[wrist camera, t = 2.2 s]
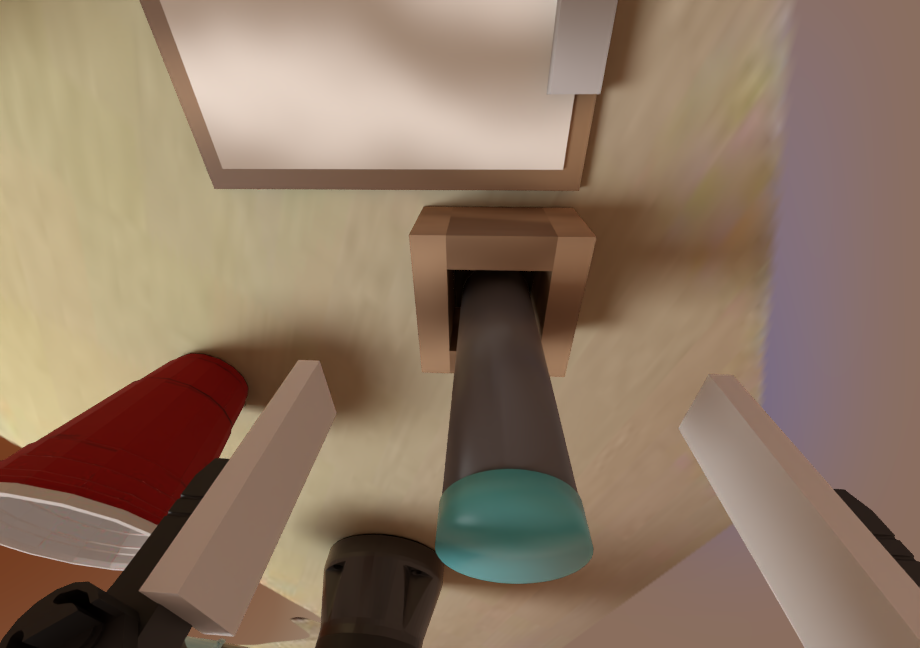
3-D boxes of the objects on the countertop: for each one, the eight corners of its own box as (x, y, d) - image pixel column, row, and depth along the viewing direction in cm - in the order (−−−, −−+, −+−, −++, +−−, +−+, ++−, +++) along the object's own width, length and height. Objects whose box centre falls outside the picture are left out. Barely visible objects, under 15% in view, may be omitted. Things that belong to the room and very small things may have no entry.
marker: (521, 301, 21) (576, 587, 9) (463, 300, 21) (438, 579, 9) (527, 245, 19) (611, 518, 7) (463, 244, 19) (430, 508, 7)
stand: (550, 330, 22) (564, 376, 19) (431, 327, 23) (422, 372, 19) (572, 207, 18) (596, 237, 14) (423, 206, 18) (408, 235, 15)
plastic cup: (195, 429, 31) (59, 588, 21) (107, 335, 25) (-140, 494, 15) (304, 421, 29) (213, 588, 19) (238, 319, 23) (59, 484, 13)
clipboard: (576, 187, 17) (585, 196, 16) (221, 186, 18) (199, 194, 17) (658, -272, 10) (689, -337, 9) (59, -237, 11) (-8, -289, 9)
